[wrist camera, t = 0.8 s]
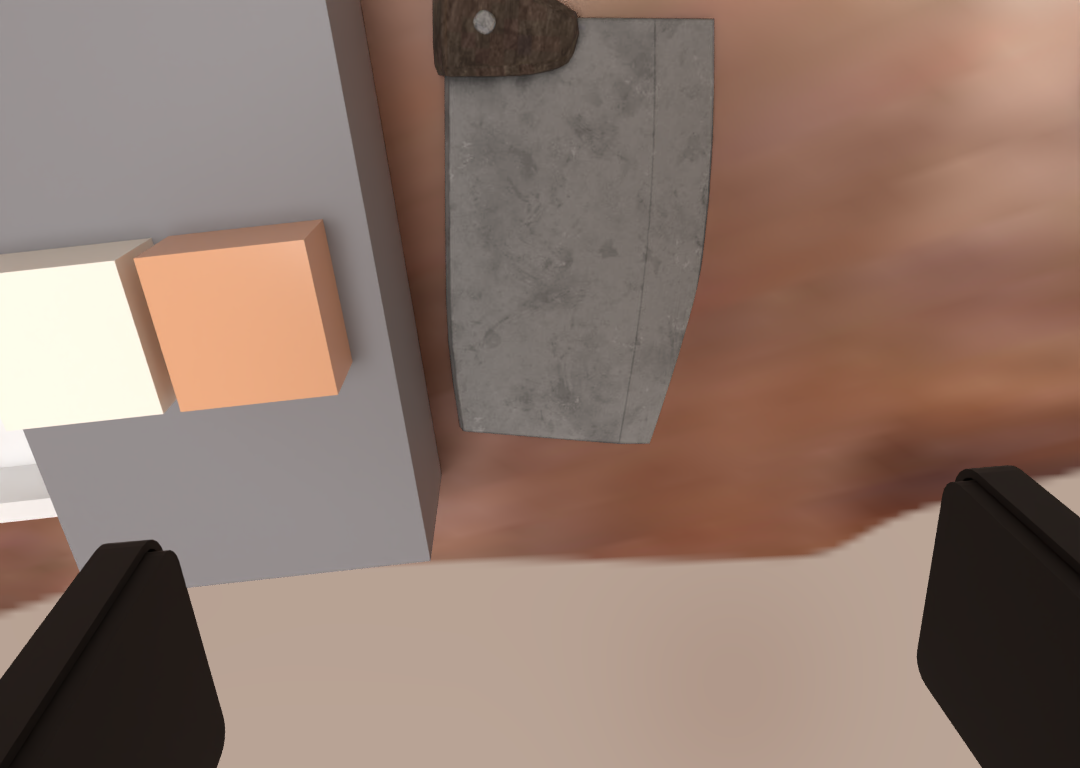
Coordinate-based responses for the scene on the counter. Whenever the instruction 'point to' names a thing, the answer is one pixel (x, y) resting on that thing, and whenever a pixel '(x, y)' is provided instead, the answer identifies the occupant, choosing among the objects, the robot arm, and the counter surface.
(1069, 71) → the counter surface
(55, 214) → the block
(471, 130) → the cleaver
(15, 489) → the box
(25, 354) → the cream tile
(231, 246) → the terracotta tile
